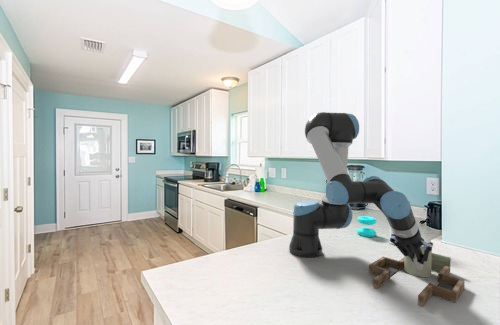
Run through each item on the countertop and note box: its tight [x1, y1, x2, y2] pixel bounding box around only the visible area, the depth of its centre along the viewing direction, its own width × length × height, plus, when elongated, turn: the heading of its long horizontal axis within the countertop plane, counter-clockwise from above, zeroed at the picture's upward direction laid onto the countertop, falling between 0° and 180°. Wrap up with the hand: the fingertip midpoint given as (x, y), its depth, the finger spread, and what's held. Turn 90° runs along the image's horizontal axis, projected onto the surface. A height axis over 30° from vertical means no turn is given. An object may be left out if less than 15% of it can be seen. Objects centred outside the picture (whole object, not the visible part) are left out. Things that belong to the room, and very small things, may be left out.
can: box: [402, 240, 433, 278], centre depth 99 cm, size 9×9×12 cm
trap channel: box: [368, 252, 465, 307], centre depth 93 cm, size 35×26×6 cm
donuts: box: [356, 215, 377, 238], centre depth 147 cm, size 10×10×10 cm
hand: (420, 266), depth 95 cm, fingers closed
